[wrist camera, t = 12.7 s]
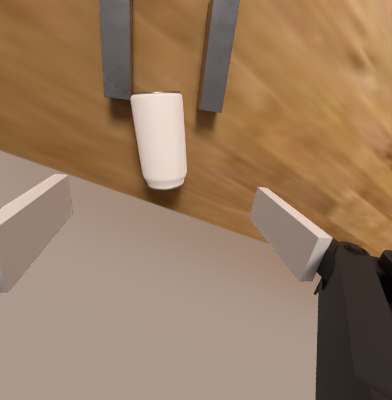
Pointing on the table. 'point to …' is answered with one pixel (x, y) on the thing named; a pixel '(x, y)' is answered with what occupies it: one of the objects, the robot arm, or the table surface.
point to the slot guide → (211, 61)
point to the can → (160, 138)
